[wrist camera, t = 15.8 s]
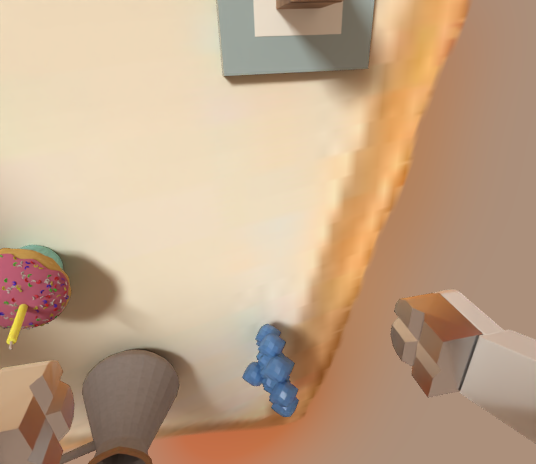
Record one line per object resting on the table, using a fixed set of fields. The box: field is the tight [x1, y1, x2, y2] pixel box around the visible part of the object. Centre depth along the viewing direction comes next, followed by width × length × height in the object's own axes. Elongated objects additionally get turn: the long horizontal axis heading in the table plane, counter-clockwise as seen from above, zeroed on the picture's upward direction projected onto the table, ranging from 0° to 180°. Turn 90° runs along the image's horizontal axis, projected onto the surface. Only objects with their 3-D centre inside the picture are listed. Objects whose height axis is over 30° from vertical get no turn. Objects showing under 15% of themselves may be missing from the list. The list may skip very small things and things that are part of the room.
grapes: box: [242, 324, 299, 417], centre depth 43 cm, size 12×7×12 cm, turn 8°
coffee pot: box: [59, 349, 179, 464], centre depth 38 cm, size 21×12×15 cm, turn 81°
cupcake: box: [0, 245, 71, 350], centre depth 31 cm, size 9×8×12 cm
